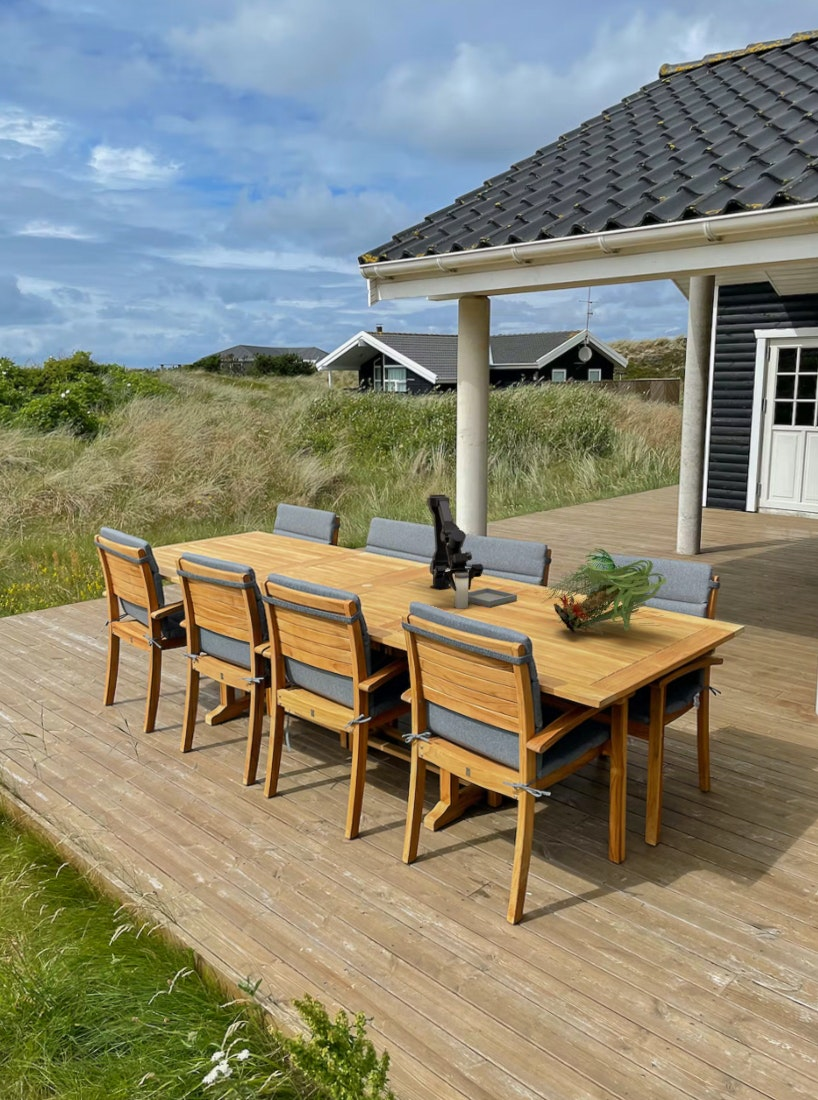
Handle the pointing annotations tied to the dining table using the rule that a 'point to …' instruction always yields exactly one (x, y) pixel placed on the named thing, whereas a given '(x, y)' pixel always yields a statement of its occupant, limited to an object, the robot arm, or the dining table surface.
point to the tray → (490, 597)
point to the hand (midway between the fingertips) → (462, 589)
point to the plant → (605, 593)
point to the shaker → (461, 589)
